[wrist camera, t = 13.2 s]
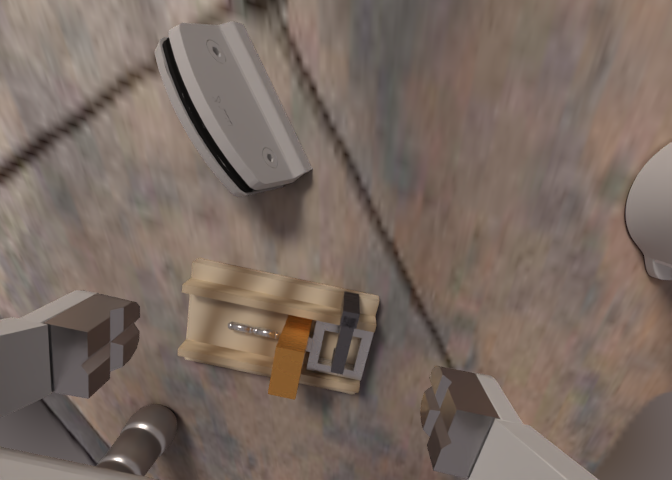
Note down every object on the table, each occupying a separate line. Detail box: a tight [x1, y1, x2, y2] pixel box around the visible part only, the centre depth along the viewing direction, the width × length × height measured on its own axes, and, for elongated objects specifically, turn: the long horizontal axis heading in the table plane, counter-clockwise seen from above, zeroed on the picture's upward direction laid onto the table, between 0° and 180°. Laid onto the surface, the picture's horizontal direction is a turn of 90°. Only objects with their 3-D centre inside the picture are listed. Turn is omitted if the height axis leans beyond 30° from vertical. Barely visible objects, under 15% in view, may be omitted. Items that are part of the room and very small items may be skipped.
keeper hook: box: [331, 291, 360, 375], centre depth 37 cm, size 2×8×5 cm, turn 168°
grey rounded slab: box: [155, 21, 312, 197], centre depth 31 cm, size 17×5×10 cm, turn 25°
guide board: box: [178, 258, 379, 394], centre depth 40 cm, size 23×14×4 cm, turn 79°
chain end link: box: [228, 315, 374, 400], centre depth 37 cm, size 18×7×7 cm, turn 78°
